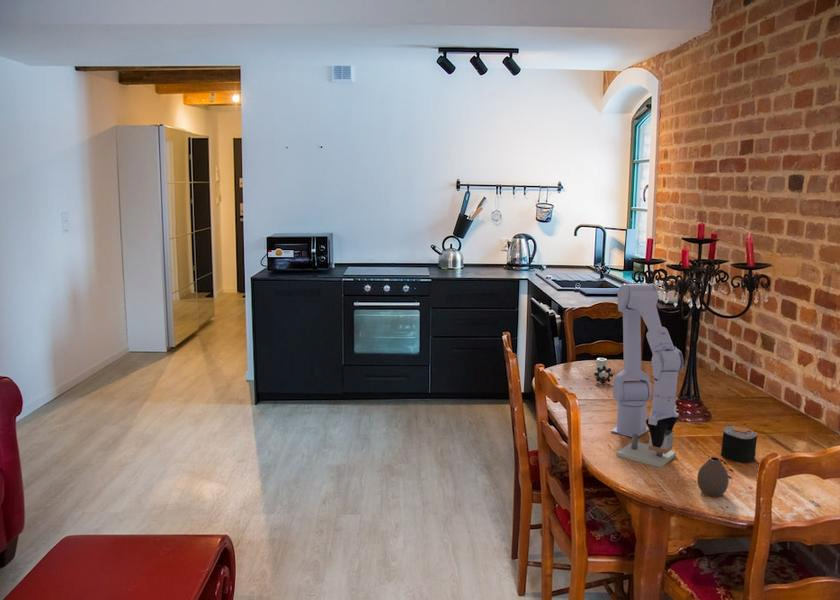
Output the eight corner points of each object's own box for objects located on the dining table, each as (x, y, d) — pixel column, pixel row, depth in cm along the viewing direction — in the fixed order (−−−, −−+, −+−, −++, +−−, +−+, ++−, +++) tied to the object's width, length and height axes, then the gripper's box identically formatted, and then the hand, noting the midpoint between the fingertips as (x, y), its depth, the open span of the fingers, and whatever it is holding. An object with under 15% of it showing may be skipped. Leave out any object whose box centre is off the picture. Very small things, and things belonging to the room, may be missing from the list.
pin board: (633, 444, 203) (634, 427, 202) (675, 455, 195) (677, 437, 194) (616, 455, 194) (618, 438, 193) (660, 467, 187) (662, 449, 186)
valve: (591, 374, 273) (593, 383, 261) (592, 357, 272) (595, 365, 260) (609, 375, 272) (612, 384, 260) (610, 358, 271) (613, 366, 259)
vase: (691, 492, 172) (694, 458, 171) (703, 484, 177) (707, 450, 176) (719, 502, 168) (723, 467, 166) (732, 493, 172) (735, 459, 171)
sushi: (728, 448, 201) (731, 421, 199) (759, 457, 195) (762, 429, 193) (715, 456, 195) (718, 428, 194) (746, 465, 189) (749, 436, 188)
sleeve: (655, 444, 195) (656, 427, 194) (672, 449, 192) (673, 431, 191) (648, 449, 192) (650, 431, 191) (665, 454, 189) (667, 435, 188)
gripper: (669, 404, 181) (665, 455, 184) (689, 391, 192) (685, 440, 195) (642, 398, 186) (638, 448, 188) (663, 386, 197) (659, 433, 199)
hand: (660, 443), depth 192 cm, fingers closed on sleeve, 5 cm apart
